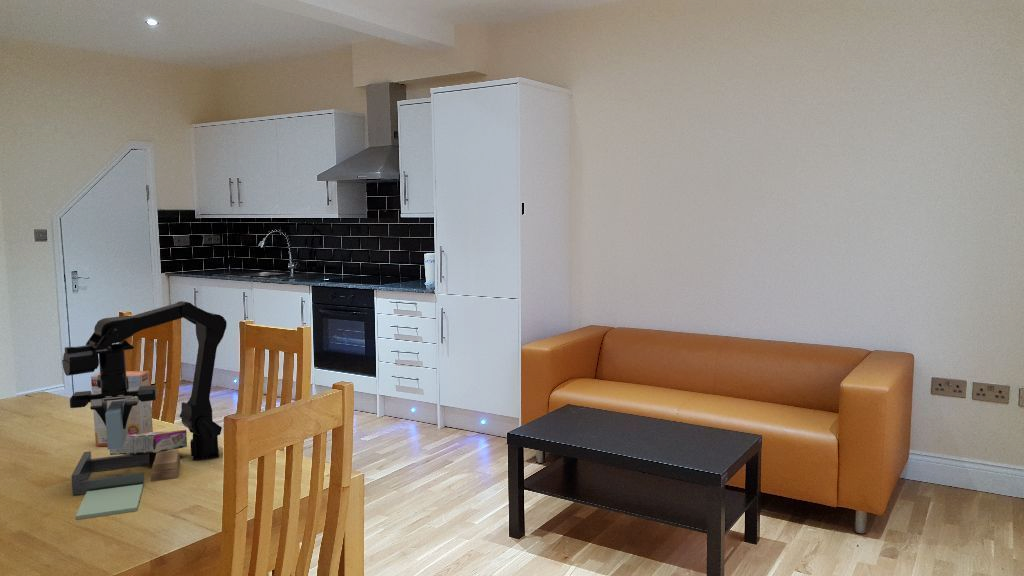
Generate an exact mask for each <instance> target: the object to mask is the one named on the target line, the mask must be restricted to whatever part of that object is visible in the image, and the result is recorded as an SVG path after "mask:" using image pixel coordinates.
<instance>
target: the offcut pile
mask: <svg viewBox="0 0 1024 576" xmlns="http://www.w3.org/2000/svg"><path fill="white" fill-rule="evenodd" d="M180 456H181V455H180V454H179V449H173V450H168V451H162V452H156V454H155V457H154V459H153V463H152V468H151V472H150V480H151V482H156V480H157V481H164V480H165V481H166V480H171V479H178V478H179V472H180V470H179V469H180V464H181V463H180V462H181V460H180V459H181V457H180Z"/></svg>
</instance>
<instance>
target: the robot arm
mask: <svg viewBox="0 0 1024 576" xmlns="http://www.w3.org/2000/svg"><path fill="white" fill-rule="evenodd" d="M183 318H184V319H185V320H186V321H188V322H190V323H191V324H194V325H195V336H196V340H197V342H198V348H197V354H196V361H195V367H194V373H193V374H194V375H193V381H192V387H191V388H192V389H191V395H190V398H189V399H188V401H187V402H181V411H180V413H179V415H178V417H179V418H180V419H181V424H182V425H183V426H184V427H185V428H188V430H189V433H191V434H192V438H191V439H190V442H189V443H190V457H192V460H193V461H199V460H206V459H214V458H219V457H220V449H219V438H218V437H219V436H221V433H222V430H223V427H222V426H221V425H219V424H217V423H216V422H215V421H213V407H212V404H211V400H210V396H211V391H212V390H211V389H212V385H213V384H212V383H213V376H214V371H215V370H214V368H215V361H216V356H217V349H218V346H219V344H220V343H221V342H222V339H224V335H225V332H226V329H227V324H228V323H227V320H226V319H225V318H224V316H222V315H221V314H216V313H213V312H208V311H205V310H203V309H202V308H199V307H198V306H195V305H194V304H192V302H188V301H183V300H180V301H177V302H175V303H172V304H169V305H165V306H162V307H159V308H158V307H157V308H154V309H151V310H148V311H144V312H140V313H137V314H134V315H126V316H125V315H124V316H114V317H113V316H112V317H106V318H101V319H100V320H98V321H97V323H96V324H95V326H94V328H93V329H94V330H93V333H92V335H91V336H90V337H89V339H88V340H87V341H86V343H85V345H78V346H66V347H64V353H63V357H62V360H61V361H62V362H61V363H62V368H63V369H62V370H63V372H64V374H65V376H66V377H68V376H69V377H70V376H75V375H81V374H82V375H83V374H88V373H94V372H95V370H97V369H98V368H99V373H100V375H98V379H97V386H98V387H99V388H101V394H92V390H83V391H75V392H74V393H73V394H72V395H71V396H70V398H69V408H70V409H76V408H78V409H79V408H85V407H86V406H87V405H88V404H89V403H90V410H91V411H93V410H96V412H97V413H98V414H99V416H100V417H101V419H102V420H103V422H104V424H105V426H106V417H105V413H106V411H107V410H108V409H107V401H109V400H120V399H125V403H124V411H123V429H125V428H126V425H127V421H128V417H129V414H130V411H131V409H132V406H135V405H137V404H138V402H139V400H140V401H142V402H143V401H151V402H153V401H156V400H157V396H158V389H157V386H156V385H154V384H153V385H150V386H140V387H139V389H138V390H136V391H127V390H129V382H128V377H127V376H126V371H127V366H126V365H127V364H126V351H129V350H133V349H135V347H134V345H132V344H130V342H128V341H127V339H129V338H131V337H132V336H133V335H135V334H136V333H138V332H141V331H142V330H146V329H150V328H153V327H156V326H160V325H163V324H166V323H170V322H173V321H176V320H180V319H183ZM120 395H124V396H120ZM109 396H112V397H109Z"/></svg>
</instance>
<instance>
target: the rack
mask: <svg viewBox="0 0 1024 576" xmlns="http://www.w3.org/2000/svg"><path fill="white" fill-rule="evenodd" d="M150 462H151V461H150V453H138V454H119V455H111V456H105V457H95V458H92V452H91V451H83V453H82V455H81V457H80V459H79V461H78V463H77V464H76V466H75V468H74V470H73V472H72V474H71V475H70V476H71V487H72V488H71V489H72V496H73V497H75V496H80V495H85V494H86V492H87V491H94V490H102V489H109V488H117V487H124V486H132V485H139V484H143V487H144V486H145V478H144V477H145V476H144V472H142V471H141V472H136V473H135V472H134V473H127V474H118V475H112V476H111V475H110V476H104V477H96V478H90V476H91V473H94V472H102V471H111V470H116V469H117V470H119V469H127V468H135V467H142V466H149V465H150Z"/></svg>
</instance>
